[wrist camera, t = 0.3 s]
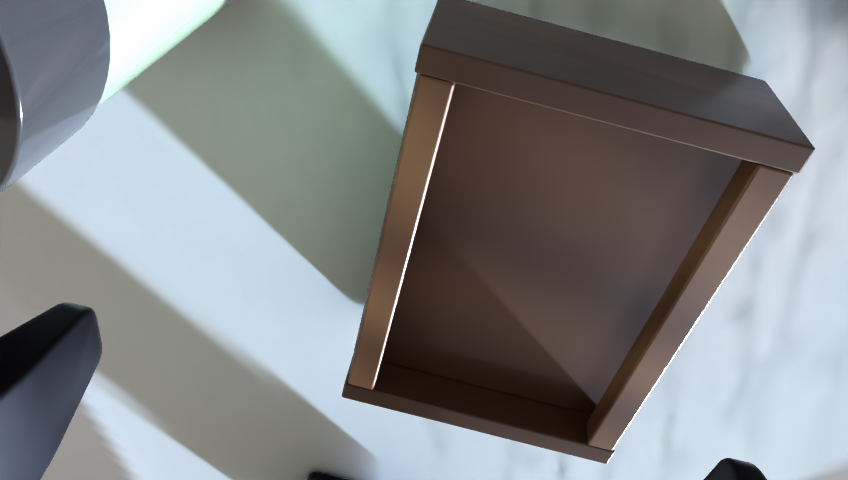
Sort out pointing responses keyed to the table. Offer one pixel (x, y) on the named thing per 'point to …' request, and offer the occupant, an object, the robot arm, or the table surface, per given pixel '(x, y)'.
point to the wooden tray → (558, 226)
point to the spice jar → (76, 64)
